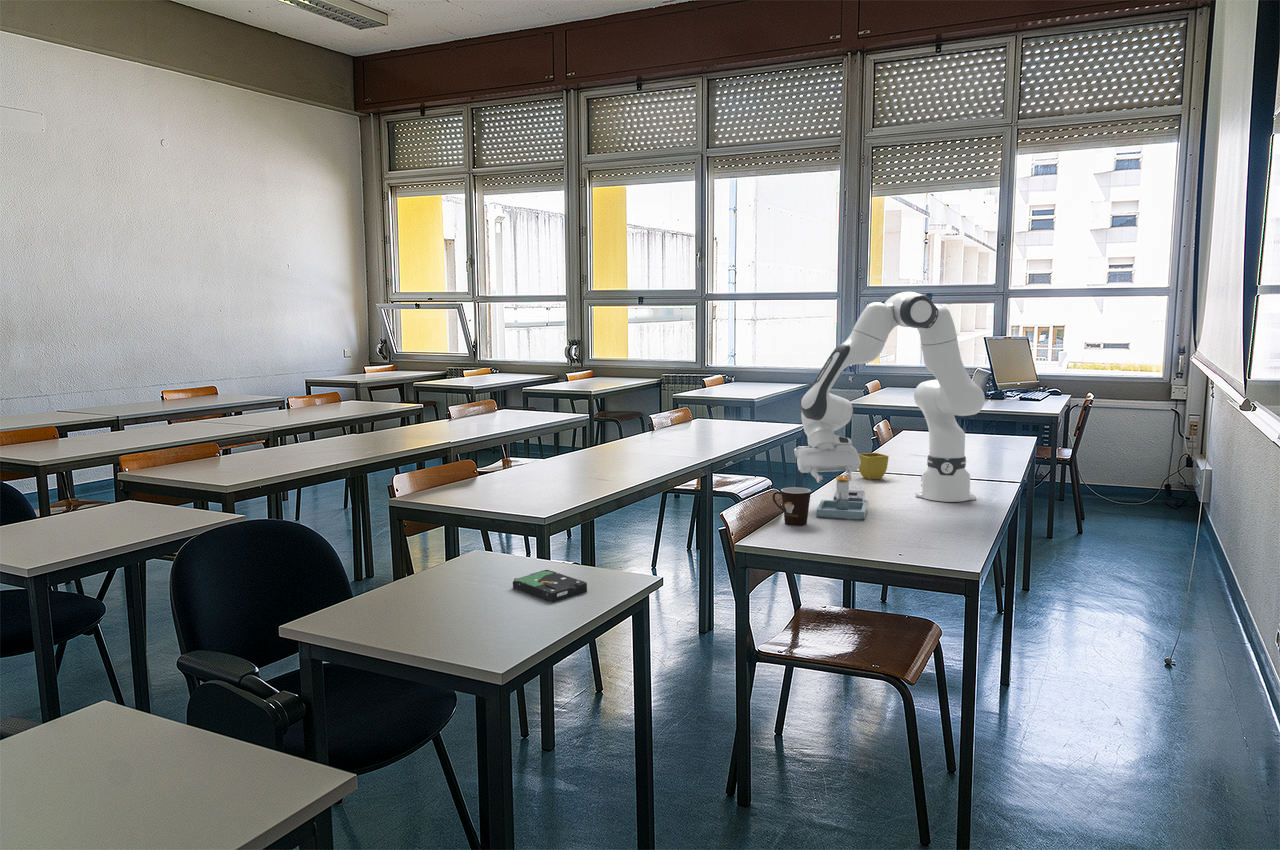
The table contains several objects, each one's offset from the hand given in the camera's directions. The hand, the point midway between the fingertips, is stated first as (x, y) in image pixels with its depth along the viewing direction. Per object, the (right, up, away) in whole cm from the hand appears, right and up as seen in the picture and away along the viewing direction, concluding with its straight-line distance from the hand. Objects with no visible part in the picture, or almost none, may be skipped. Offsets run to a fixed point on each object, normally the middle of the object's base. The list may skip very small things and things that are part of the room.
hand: (834, 480), depth 267 cm
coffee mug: (-16, -11, -15) cm, 25 cm away
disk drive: (-82, -20, -74) cm, 112 cm away
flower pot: (+26, -3, +51) cm, 57 cm away
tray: (+1, -10, -5) cm, 11 cm away
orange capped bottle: (+1, -9, -5) cm, 11 cm away
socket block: (+7, -8, +10) cm, 14 cm away
